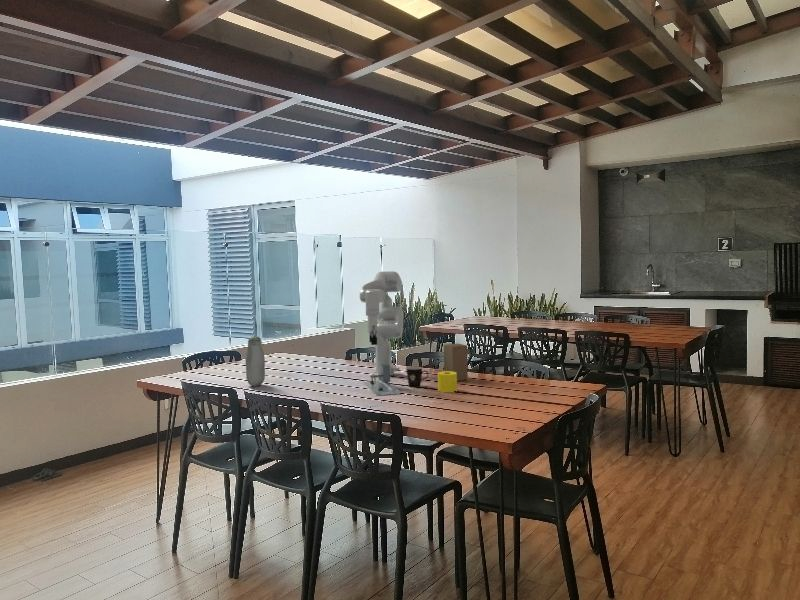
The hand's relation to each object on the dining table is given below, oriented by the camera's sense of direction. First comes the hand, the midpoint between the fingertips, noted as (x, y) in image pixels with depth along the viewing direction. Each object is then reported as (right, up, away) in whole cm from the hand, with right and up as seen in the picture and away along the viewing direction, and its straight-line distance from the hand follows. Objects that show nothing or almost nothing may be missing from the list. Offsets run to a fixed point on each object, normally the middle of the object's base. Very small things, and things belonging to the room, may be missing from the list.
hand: (373, 343), depth 337 cm
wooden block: (+47, -22, +14) cm, 54 cm away
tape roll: (+40, -24, -15) cm, 49 cm away
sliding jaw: (+4, -21, -5) cm, 22 cm away
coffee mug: (+24, -24, -3) cm, 34 cm away
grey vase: (-67, -25, +7) cm, 71 cm away
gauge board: (+4, -24, -8) cm, 26 cm away
